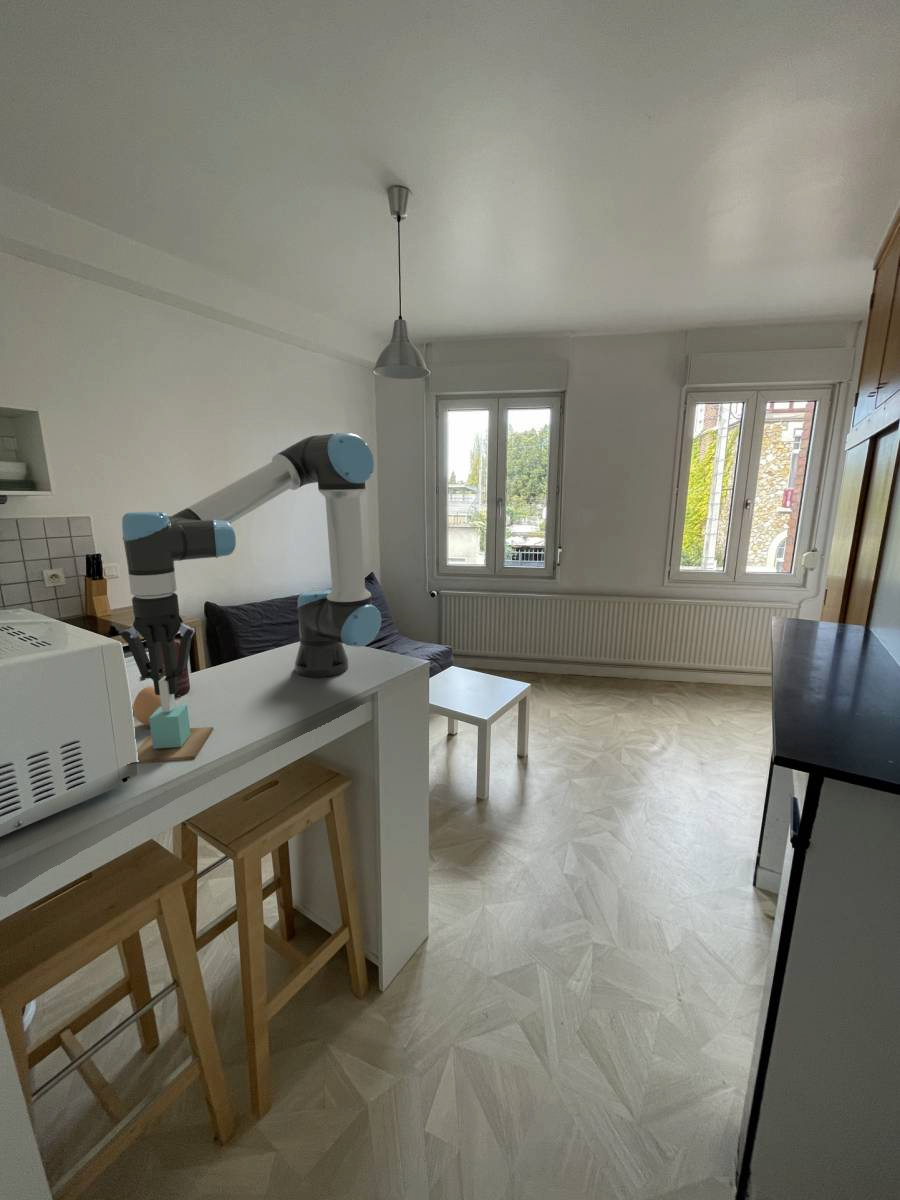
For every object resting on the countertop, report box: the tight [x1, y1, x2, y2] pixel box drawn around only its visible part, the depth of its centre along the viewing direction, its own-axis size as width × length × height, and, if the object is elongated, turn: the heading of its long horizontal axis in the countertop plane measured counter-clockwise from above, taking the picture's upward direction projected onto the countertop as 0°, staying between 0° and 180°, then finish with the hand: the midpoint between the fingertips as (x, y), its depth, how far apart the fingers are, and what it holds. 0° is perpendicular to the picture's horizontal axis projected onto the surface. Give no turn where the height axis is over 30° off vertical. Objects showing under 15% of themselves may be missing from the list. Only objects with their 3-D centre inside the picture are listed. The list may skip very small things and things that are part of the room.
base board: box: [136, 726, 215, 764], centre depth 100 cm, size 12×12×1 cm
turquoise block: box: [149, 704, 191, 749], centre depth 99 cm, size 5×5×7 cm
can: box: [160, 637, 191, 698], centre depth 124 cm, size 6×6×14 cm
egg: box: [133, 685, 161, 727], centre depth 108 cm, size 7×7×9 cm
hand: (168, 708), depth 99 cm, fingers closed
